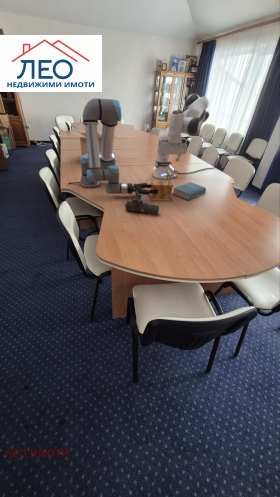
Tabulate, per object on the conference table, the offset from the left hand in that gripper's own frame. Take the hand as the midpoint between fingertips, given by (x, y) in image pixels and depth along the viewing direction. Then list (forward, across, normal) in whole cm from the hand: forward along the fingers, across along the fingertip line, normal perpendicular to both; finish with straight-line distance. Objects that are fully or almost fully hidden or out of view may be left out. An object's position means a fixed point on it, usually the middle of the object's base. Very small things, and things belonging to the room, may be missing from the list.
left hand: (156, 189), depth 165 cm
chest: (+3, 0, -7) cm, 8 cm away
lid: (+4, 0, +4) cm, 5 cm away
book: (+29, -8, -7) cm, 31 cm away
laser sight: (-14, +24, -7) cm, 28 cm away
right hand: (+8, 0, +20) cm, 22 cm away
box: (-52, -93, -7) cm, 107 cm away
